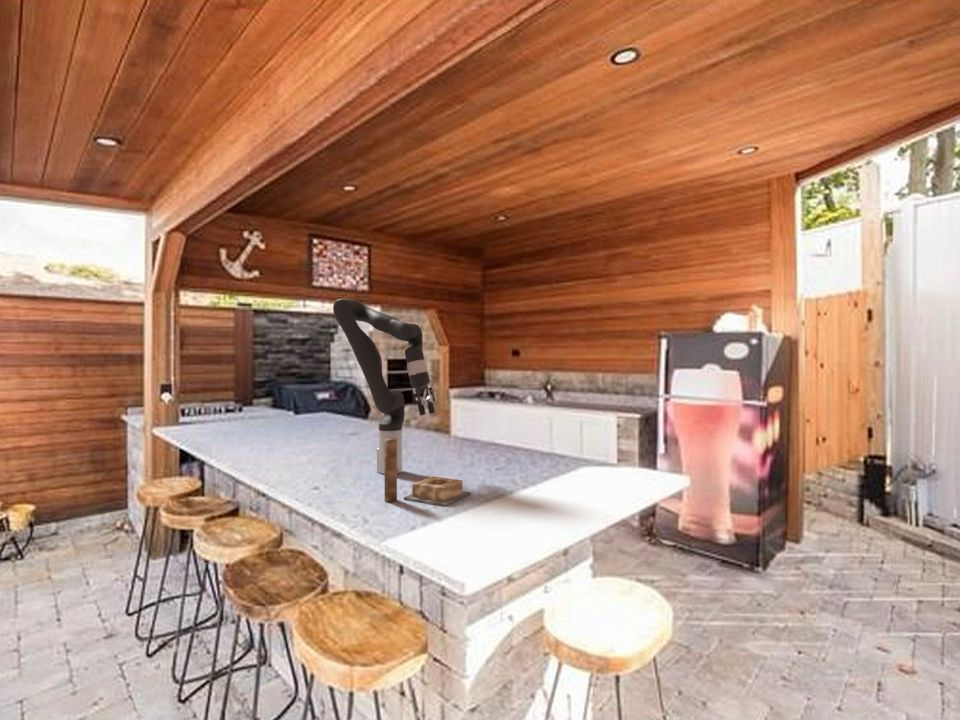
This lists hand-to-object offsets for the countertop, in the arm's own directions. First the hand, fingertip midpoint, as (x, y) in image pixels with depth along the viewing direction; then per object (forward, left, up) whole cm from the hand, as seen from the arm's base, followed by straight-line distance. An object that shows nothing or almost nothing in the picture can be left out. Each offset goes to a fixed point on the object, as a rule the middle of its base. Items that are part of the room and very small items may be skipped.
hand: (427, 414), depth 207 cm
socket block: (+18, -21, -24) cm, 37 cm away
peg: (+7, -32, -24) cm, 41 cm away
